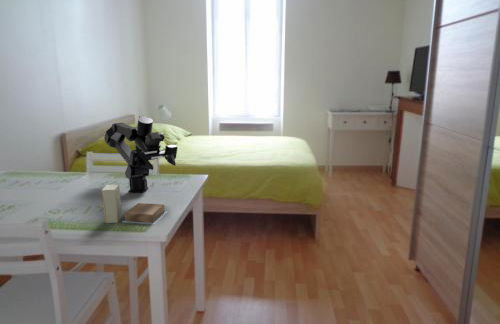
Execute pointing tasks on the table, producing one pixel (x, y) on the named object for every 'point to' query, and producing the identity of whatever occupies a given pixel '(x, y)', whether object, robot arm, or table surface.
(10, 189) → the table surface
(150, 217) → the walnut plinth
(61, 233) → the table surface
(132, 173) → the robot arm
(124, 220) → the plan sheet
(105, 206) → the skincare box
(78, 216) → the table surface
